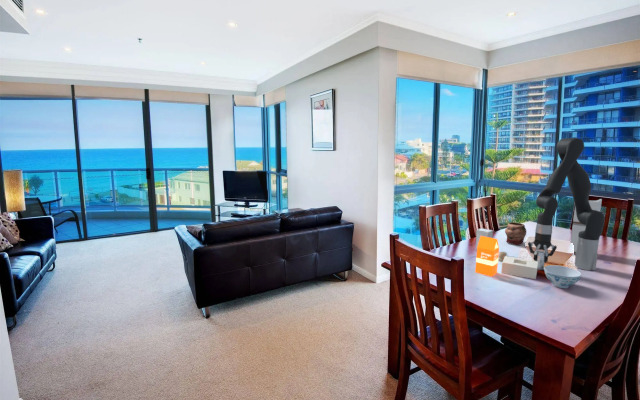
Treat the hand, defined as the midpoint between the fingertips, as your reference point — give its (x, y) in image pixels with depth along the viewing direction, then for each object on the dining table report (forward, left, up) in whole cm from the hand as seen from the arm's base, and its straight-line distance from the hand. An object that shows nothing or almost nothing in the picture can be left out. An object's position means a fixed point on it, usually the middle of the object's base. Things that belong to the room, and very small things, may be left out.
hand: (540, 261), depth 191 cm
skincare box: (+31, -14, -5) cm, 34 cm away
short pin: (+19, -3, -4) cm, 20 cm away
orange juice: (+24, +22, -5) cm, 33 cm away
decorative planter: (+16, -47, -5) cm, 50 cm away
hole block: (+9, +12, -4) cm, 16 cm away
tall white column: (-21, -43, -5) cm, 48 cm away
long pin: (0, 0, -4) cm, 4 cm away
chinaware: (-9, +20, -5) cm, 23 cm away
